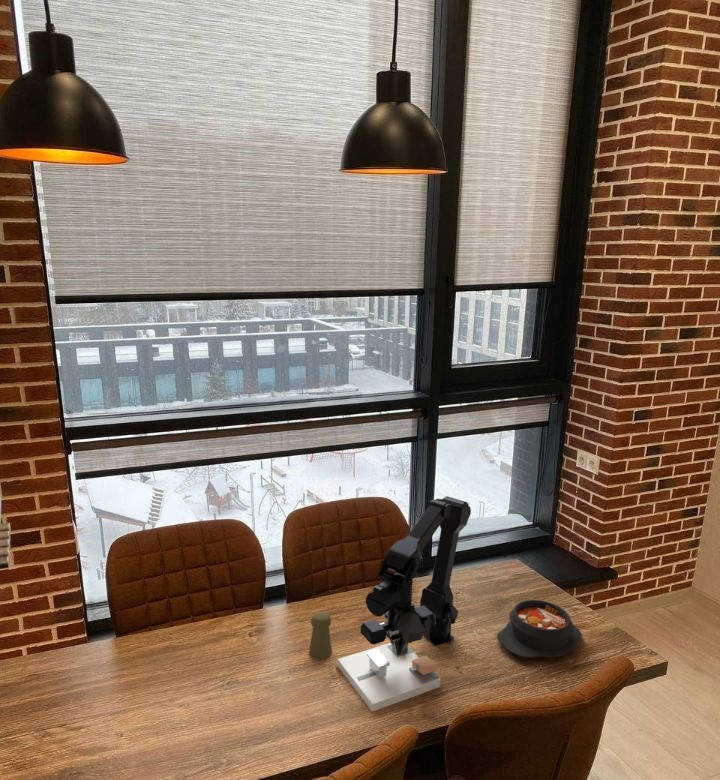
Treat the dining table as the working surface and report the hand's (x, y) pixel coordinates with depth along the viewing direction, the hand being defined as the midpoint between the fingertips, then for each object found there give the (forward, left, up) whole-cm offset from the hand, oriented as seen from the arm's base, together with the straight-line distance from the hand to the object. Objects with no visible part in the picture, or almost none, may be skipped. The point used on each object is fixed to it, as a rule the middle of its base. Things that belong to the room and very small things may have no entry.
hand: (397, 654), depth 154 cm
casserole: (-42, +6, -6) cm, 43 cm away
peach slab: (-4, +6, -1) cm, 7 cm away
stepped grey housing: (+6, 0, -3) cm, 6 cm away
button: (-4, -5, -3) cm, 8 cm away
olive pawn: (+14, -16, -6) cm, 22 cm away
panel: (+3, 0, -5) cm, 6 cm away
